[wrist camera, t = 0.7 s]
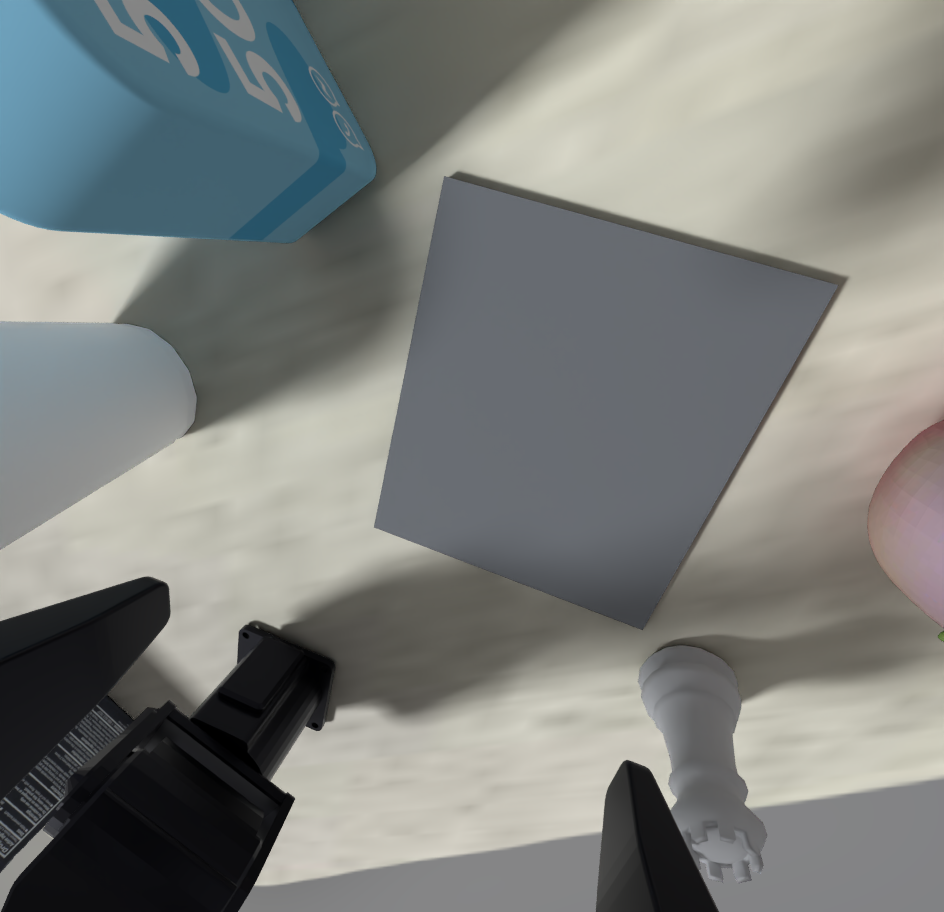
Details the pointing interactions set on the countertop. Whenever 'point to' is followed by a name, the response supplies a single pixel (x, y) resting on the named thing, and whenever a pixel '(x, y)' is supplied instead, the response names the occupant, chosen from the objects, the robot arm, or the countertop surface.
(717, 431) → the mat
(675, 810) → the rook chess piece
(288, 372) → the countertop surface
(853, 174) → the countertop surface
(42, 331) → the foam cup
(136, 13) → the data package
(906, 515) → the decorative fruit
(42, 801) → the small box
